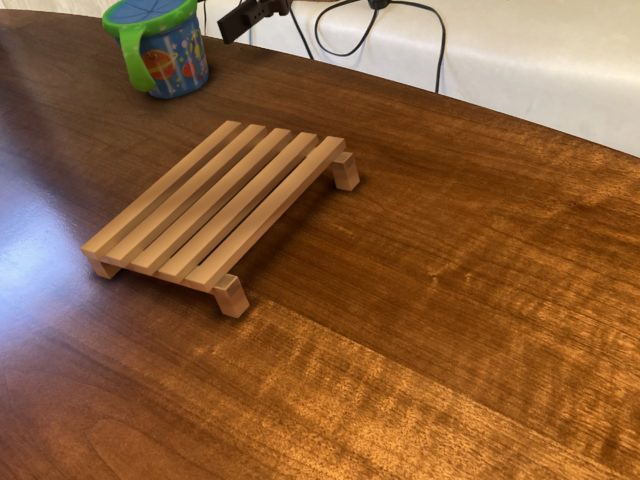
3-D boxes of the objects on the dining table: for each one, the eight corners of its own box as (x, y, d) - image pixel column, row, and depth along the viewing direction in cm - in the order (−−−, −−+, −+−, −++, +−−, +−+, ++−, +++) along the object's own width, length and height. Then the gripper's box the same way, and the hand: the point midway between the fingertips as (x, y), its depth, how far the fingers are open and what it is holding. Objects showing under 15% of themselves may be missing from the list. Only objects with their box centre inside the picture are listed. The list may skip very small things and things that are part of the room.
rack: (94, 285, 67) (70, 245, 64) (233, 157, 79) (218, 118, 76) (234, 329, 60) (215, 287, 57) (365, 181, 71) (354, 139, 68)
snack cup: (171, 57, 100) (139, -22, 93) (244, 53, 97) (217, -29, 90) (111, 122, 89) (70, 39, 82) (191, 120, 86) (156, 34, 79)
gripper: (366, -13, 100) (271, 68, 88) (219, -20, 111) (118, 51, 99) (353, -73, 95) (251, 3, 82) (201, -74, 106) (92, -7, 94)
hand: (178, 29), depth 91 cm, fingers open, 13 cm apart
